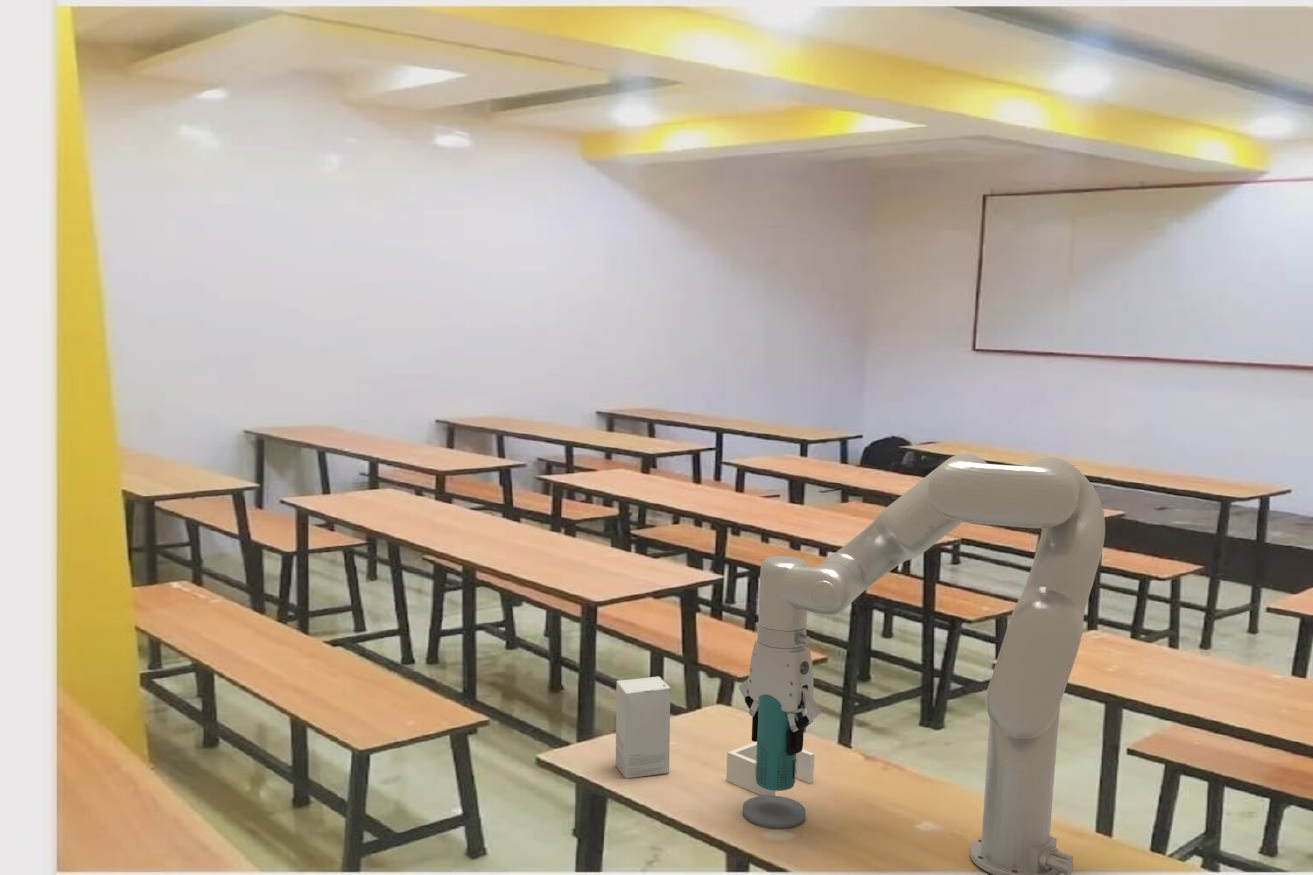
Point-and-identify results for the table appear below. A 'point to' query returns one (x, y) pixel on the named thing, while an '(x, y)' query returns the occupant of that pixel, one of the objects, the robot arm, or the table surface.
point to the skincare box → (642, 727)
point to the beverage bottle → (773, 747)
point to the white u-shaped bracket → (744, 768)
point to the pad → (774, 812)
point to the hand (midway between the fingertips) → (776, 745)
